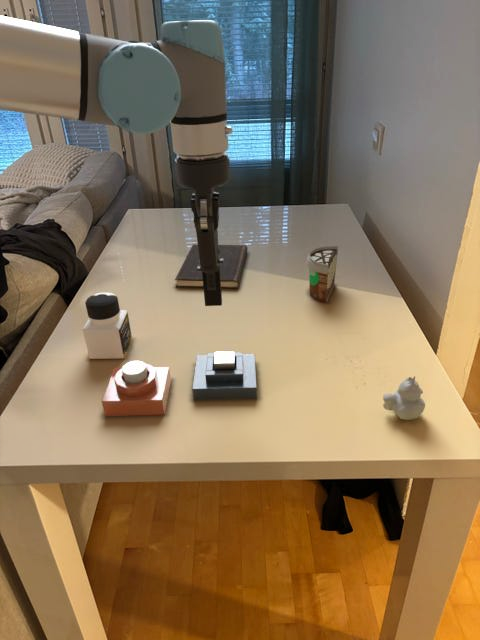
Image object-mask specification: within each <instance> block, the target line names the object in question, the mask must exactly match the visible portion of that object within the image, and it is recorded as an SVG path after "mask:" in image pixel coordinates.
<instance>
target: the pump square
mask: <svg viewBox="0 0 480 640" xmlns="http://www.w3.org/2000/svg"><path fill="white" fill-rule="evenodd" d="M214 353H215V354H214V371H224V370H235V353H236V352H235V351H234V350H233V351H232V350H231V351H230V350H229V351H226V350H225V351H214Z"/></svg>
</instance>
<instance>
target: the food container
mask: <svg viewBox="0 0 480 640" xmlns="http://www.w3.org/2000/svg"><path fill="white" fill-rule="evenodd" d="M338 255H339V246H338V245H324V246H319V247H316V248H314V249H312V250H311V251H310V252H309V253H308V255H307V258H306V262H305V264H306V266H307V268H308V275H309V276H308V278H309V280H308V281H309V295H310V297H311V298H313V299H315V300H316V301H319V302H322V303H327V302H328V300H329V297H330V296H331V293H332V292H333V290H334V287H335V281H336V273H337V272H336V271H337V262H338Z"/></svg>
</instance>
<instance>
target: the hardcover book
mask: <svg viewBox="0 0 480 640" xmlns="http://www.w3.org/2000/svg"><path fill="white" fill-rule="evenodd" d="M218 248H219V252H220V253H219V255H218V257H219V258H223V263H219V264H218V265H220V279H221V289H229V290H230V289H231V290H234V289H235V290H237V289H238V288H239V286H240V283H241V277H242V274H243V270H244V266H245V262H246V258H247V253H248V246H247V245H246V244H218ZM198 266H200V258H199V250H198V243H196V244H192V245H191V248H190V249H189V251H188V252H187V254H186V257H185V259H184V261H183V263H182V264H181V267H180V268H179V271H178V273H177V274H176V277H175V278H174V281H176V285H175V288H191V289H204V288H203V277H202V272H201V271H197V267H198Z"/></svg>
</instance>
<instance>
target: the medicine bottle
mask: <svg viewBox="0 0 480 640" xmlns="http://www.w3.org/2000/svg"><path fill="white" fill-rule="evenodd" d="M84 303H85V308H86V313H87V317H88V319H87V321H86V323H85V324H84V326H83V327H82V333H83V337H84V341H85V345H86V350H87V354H88V358H89V359H91V360H98V359H99V360H100V359H101V360H102V359H103V360H104V359H106V360H107V359H109V360H110V359H113V360H114V359H115V360H116V359H125V358H126V357H127V354H128V351H129V348H130V345H131V343H132V340H133V336H132V329H131V324H130V319H129V311H127V310H126V309H124V310H122V309H120V308H121V307H120V303H119V297H118V296H117V295H116V294H114V293H112V292H107V291H106V292H103V291H102V292H98V293H95V294H92V295H90V296H88V297H87V298H86V300H85V302H84Z"/></svg>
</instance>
